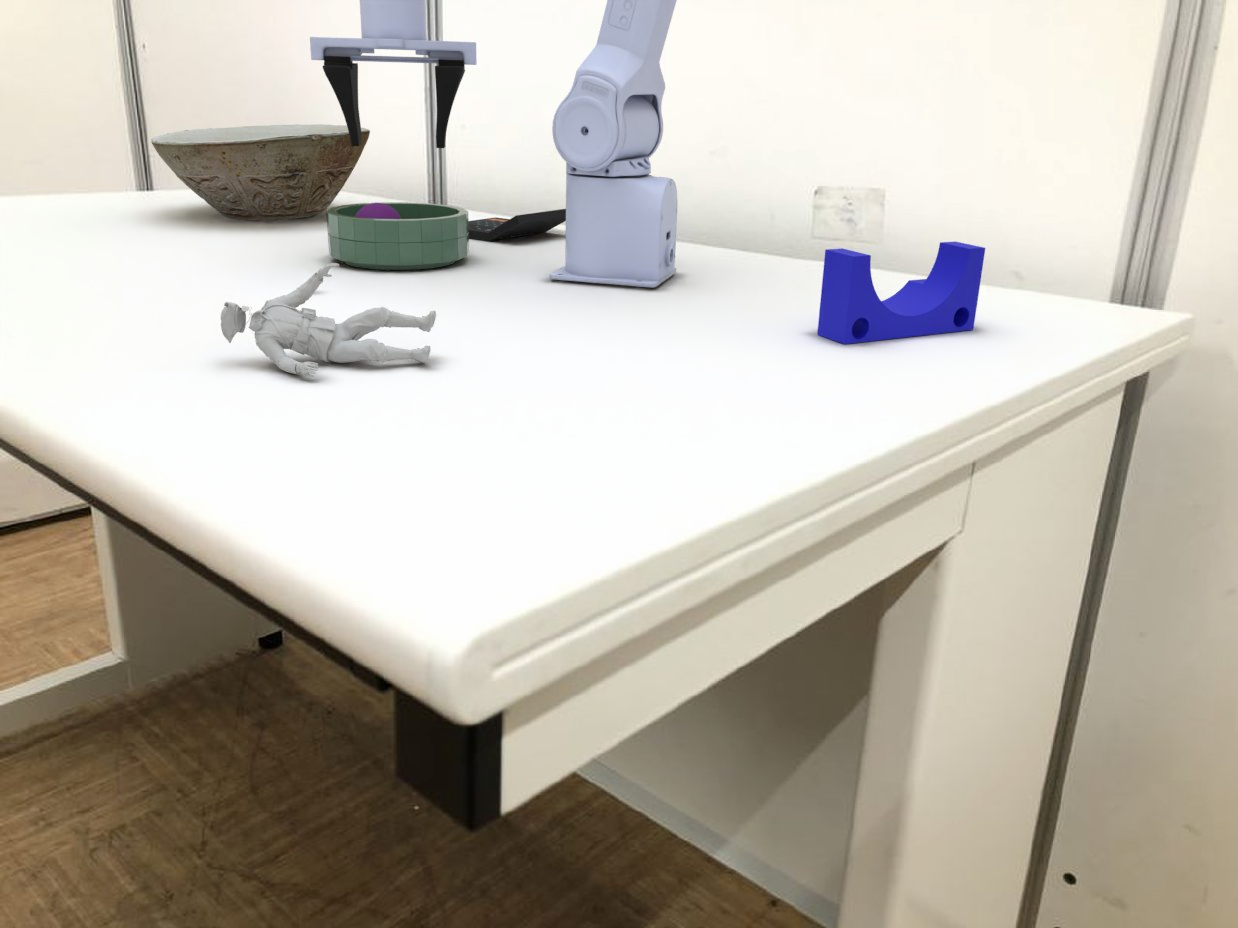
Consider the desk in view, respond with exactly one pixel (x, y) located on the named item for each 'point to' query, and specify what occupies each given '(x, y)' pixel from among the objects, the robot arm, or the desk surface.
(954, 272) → the blue pipe saddle bracket
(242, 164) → the bowl
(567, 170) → the robot arm
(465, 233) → the green bowl
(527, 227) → the calculator
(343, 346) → the soldier figure
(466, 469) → the desk surface
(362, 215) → the ball
